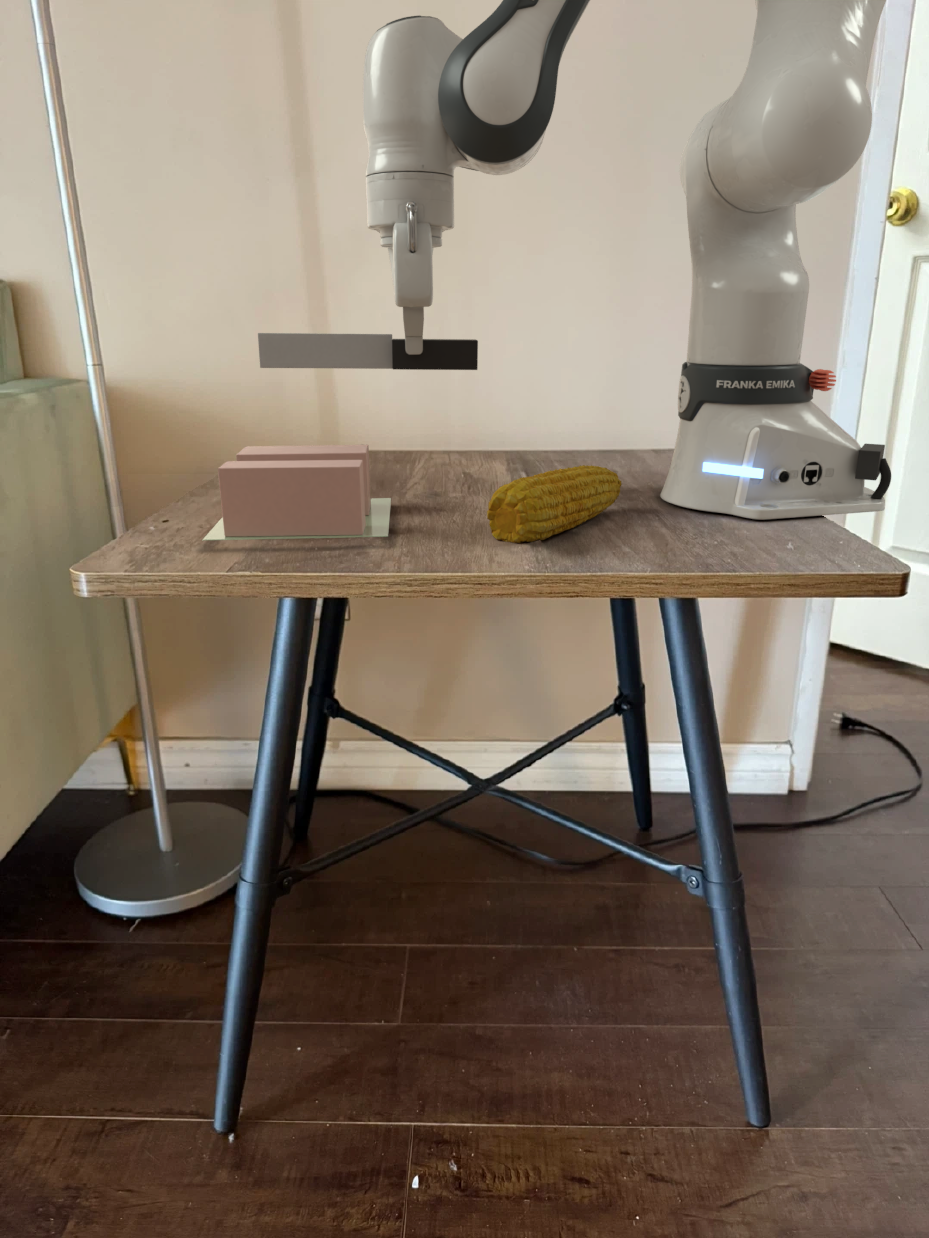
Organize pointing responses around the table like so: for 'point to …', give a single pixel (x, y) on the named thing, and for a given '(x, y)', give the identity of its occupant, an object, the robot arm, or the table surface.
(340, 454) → the pink rectangular block
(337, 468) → the dusty pink brick
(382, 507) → the plate
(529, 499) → the food
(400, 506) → the table surface
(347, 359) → the knife
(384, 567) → the table surface
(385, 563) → the table surface
